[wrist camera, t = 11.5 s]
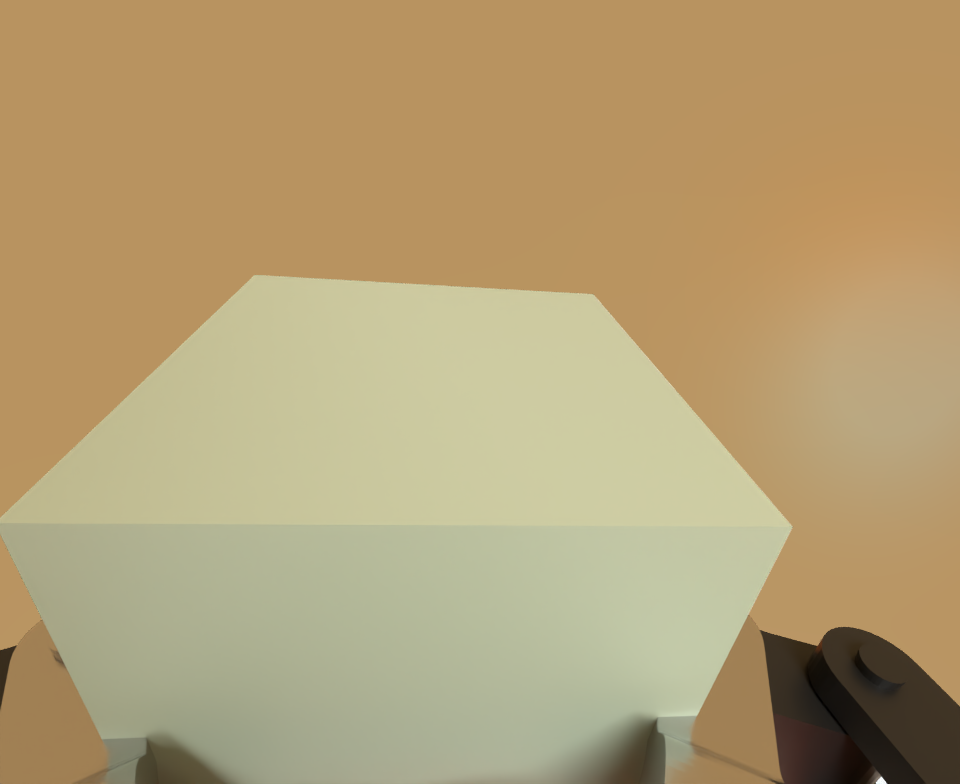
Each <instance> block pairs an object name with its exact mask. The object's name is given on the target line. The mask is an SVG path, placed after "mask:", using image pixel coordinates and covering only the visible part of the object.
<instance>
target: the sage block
mask: <svg viewBox="0 0 960 784" xmlns="http://www.w3.org/2000/svg"><path fill="white" fill-rule="evenodd" d="M792 528H793V527H792V525H791V524H790V523H789V522H788V521H787V520H786V518H785V517H784V516H783V515H782V514H781V513H780V512H779V510H778V509H777V508H776V507H775V506H774V504H773V503H772V502H771V501H770V500H769V499H768V498H767V496H766V495H765V494H764V493H763V492H762V490H761V489H760V488H759V487H758V486H757V485H756V483H755V482H754V481H753V480H752V479H751V478H750V476H749V475H748V474H747V473H746V472H745V471H744V469H743V468H742V467H741V466H740V465H739V464H738V462H736V460H735V459H734V458H733V457H732V455H731V454H730V453H729V452H728V451H727V450H726V448H725V447H724V446H723V445H722V444H721V443H720V441H718V439H717V438H716V437H715V436H714V434H712V432H711V431H710V430H709V429H708V427H707V426H706V425H705V424H704V423H703V422H702V420H701V419H700V418H699V417H698V416H697V415H696V414H695V413H694V411H693V410H692V409H691V408H690V406H689V405H688V404H687V403H686V402H685V401H684V399H683V398H682V397H681V396H680V395H679V394H678V392H677V391H676V390H675V389H674V388H673V387H672V386H671V384H669V382H668V381H667V380H666V378H665V377H664V376H663V375H662V374H661V373H660V371H659V370H657V368H656V367H655V366H654V365H653V363H652V362H651V361H650V360H649V359H648V357H647V356H646V355H645V354H644V353H643V352H642V350H641V349H640V348H639V347H638V346H637V345H636V343H635V342H634V341H633V340H632V339H631V338H630V337H629V335H628V334H627V333H626V332H625V331H624V329H623V328H622V327H621V326H620V325H619V324H618V322H617V321H616V320H615V319H614V318H613V317H612V315H611V314H610V313H609V312H608V311H607V310H606V308H605V307H604V306H603V305H602V304H601V303H600V301H599V300H598V299H597V298H596V297H595V296H594V295H593V294H577V293H560V292H543V291H525V290H507V289H489V288H473V287H455V286H437V285H420V284H403V283H386V282H367V281H351V280H333V279H331V280H330V279H316V278H314V279H313V278H298V277H280V276H263V275H254V276H253V277H252V278H251V279H250V280H249V281H248V282H247V283H246V284H245V285H244V286H243V287H242V288H241V289H240V290H239V291H238V292H237V293H236V294H234V295H233V296H232V297H231V298H230V299H229V300H228V301H227V302H226V303H225V304H224V305H223V306H222V307H221V308H220V309H219V310H218V311H217V312H216V313H215V314H213V315H212V317H210V318H209V319H208V320H207V321H206V322H205V323H204V324H203V325H202V326H201V327H200V328H199V329H198V330H197V331H196V332H195V333H194V334H192V335H191V336H190V337H189V338H188V339H187V340H186V341H185V342H184V343H183V344H182V345H181V346H180V347H179V348H178V349H177V350H176V351H175V352H174V353H173V354H172V355H171V356H169V357H168V358H167V359H166V360H165V361H164V362H163V363H162V364H161V365H160V366H159V367H158V368H157V369H156V370H155V371H154V372H153V373H152V374H151V375H150V376H148V377H147V378H146V379H145V380H144V381H143V382H142V383H141V384H140V385H139V386H138V387H137V388H136V389H135V390H134V391H133V392H132V393H131V394H130V395H129V396H128V397H126V399H125V400H123V401H122V402H121V403H120V404H119V405H118V406H117V407H116V408H115V409H114V410H113V411H112V412H111V413H110V414H109V415H108V416H107V417H105V419H104V420H103V421H101V422H100V423H99V424H98V425H97V426H96V427H95V428H94V429H93V430H92V431H91V432H90V433H89V434H88V435H87V436H86V437H85V438H84V439H82V440H81V441H80V442H79V443H78V444H77V445H76V446H75V447H74V448H73V449H72V450H71V451H70V452H69V453H68V454H67V455H66V456H65V457H64V458H62V459H61V461H60V462H58V463H57V464H56V465H55V466H54V467H53V468H52V469H51V470H50V471H49V472H48V473H47V474H46V475H45V476H44V477H43V478H42V479H40V481H38V482H37V483H36V484H35V485H34V486H33V487H32V488H31V489H30V490H29V491H28V492H27V493H26V494H25V495H24V496H23V497H22V498H21V499H20V500H19V501H17V502H16V503H15V504H14V505H13V506H12V507H11V508H10V509H9V510H8V511H7V512H6V513H5V514H4V515H3V516H2V517H1V518H0V535H1V537H2V539H3V541H4V543H5V545H6V547H7V549H8V551H9V553H10V555H11V557H12V559H13V561H14V563H15V565H16V567H17V569H18V571H19V573H20V575H21V577H22V579H23V581H24V583H25V585H26V588H27V589H28V592H29V594H30V596H31V598H32V600H33V602H34V604H35V606H36V607H37V610H38V612H39V614H40V616H41V618H42V620H43V622H44V624H45V626H46V628H47V630H48V632H49V634H50V636H51V638H52V640H53V642H54V644H55V646H56V648H57V650H58V652H59V654H60V656H61V658H62V660H63V662H64V664H65V666H66V668H67V670H68V672H69V674H70V676H71V678H72V680H73V682H74V684H75V686H76V688H77V690H78V692H79V694H80V696H81V698H82V700H83V702H84V704H85V706H86V708H87V710H88V712H89V714H90V716H91V718H92V721H93V723H94V725H95V727H96V729H97V731H98V733H99V735H100V737H101V739H118V738H143V737H147V740H148V742H149V745H150V747H151V749H152V752H153V754H154V757H155V759H156V761H157V772H158V781H159V784H638V782H639V780H640V777H641V773H642V769H643V765H644V760H645V754H646V747H647V740H648V737H649V735H650V733H651V731H652V728H653V726H654V724H655V722H656V719H657V717H675V716H697V715H698V713H699V711H700V709H701V707H702V705H703V703H704V701H705V699H706V697H707V695H708V693H709V691H710V689H711V687H712V685H713V683H714V681H715V680H716V678H717V676H718V674H719V672H720V670H721V668H722V666H723V664H724V662H725V660H726V658H727V656H728V654H729V652H730V650H731V648H732V646H733V644H734V642H735V640H736V638H737V636H738V634H739V632H740V630H741V628H742V626H743V624H744V622H745V620H746V618H747V616H748V614H749V612H750V610H751V608H752V606H753V605H754V602H755V601H756V598H757V597H758V595H759V593H760V591H761V589H762V587H763V585H764V583H765V581H766V579H767V577H768V575H769V573H770V571H771V569H772V567H773V565H774V563H775V561H776V559H777V557H778V555H779V553H780V551H781V549H782V547H783V545H784V543H785V541H786V539H787V537H788V535H789V533H790V531H791V530H792Z"/></svg>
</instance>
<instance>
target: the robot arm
mask: <svg viewBox="0 0 960 784" xmlns="http://www.w3.org/2000/svg"><path fill="white" fill-rule="evenodd" d="M881 776H882V778H883V779H884V780H885V781H886V783H887V784H960V706H959V705H958V704H957V703H956V702H955V701H953V699H952V698H951V697H950V696H949V695H948V694H947V693H946V692H945V691H944V690H942V689H941V687H940V686H939V685H937V684H936V682H935V681H934V680H933V679H931V678H930V676H929V675H927V673H926V672H925V671H924V670H922V668H921V667H919V666H918V665H917V664H916V663H915V662H914V661H913V660H912V659H911V658H910V657H909V656H908V655H906V654H905V653H904V652H903V651H901V650H900V649H899V648H897V647H895V646H894V645H893V644H891V643H890V642H888V641H886V640H884V639H883V638H880V637H879V636H876V635H874V634H872V633H870V632H867V631H864V630H860V629H856V628H850V627H838V628H834V629H831V630H830V631H828V632H827V633H826V634H825V635H824V637H823V639H822V640H821V642H820V643H819V645H818V646H815V645H811V644H807V643H803V642H800V641H796V640H792V639H789V638H785V637H781V636H778V635H774V634H770V633H767V632H764V631H761V630H759V628H758V627H757V625H756V623H755V622H754V621H753V619H752V618H751V617H750V616H749V615H748V616H747V618H746V620H745V622H744V624H743V626H742V628H741V630H740V632H739V634H738V636H737V638H736V640H735V642H734V644H733V646H732V648H731V650H730V652H729V654H728V656H727V658H726V660H725V662H724V664H723V666H722V668H721V670H720V672H719V674H718V676H717V678H716V680H715V681H714V683H713V685H712V687H711V689H710V691H709V693H708V695H707V697H706V699H705V701H704V703H703V705H702V707H701V709H700V711H699V713H698V715H697V716H675V717H657V719H656V722H655V724H654V726H653V728H652V731H651V733H650V735H649V737H648V740H647V747H646V754H645V760H644V765H643V769H642V773H641V777H640V780H639V782H638V784H876V782H877V780H878V779H879V778H880V777H881ZM0 784H159V781H158V772H157V761H156V759H155V757H154V754H153V752H152V749H151V747H150V745H149V742H148V740H147V737H143V738H118V739H101V737H100V735H99V733H98V731H97V729H96V727H95V725H94V723H93V721H92V718H91V716H90V714H89V712H88V710H87V708H86V706H85V704H84V702H83V700H82V698H81V696H80V694H79V692H78V690H77V688H76V686H75V684H74V682H73V680H72V678H71V676H70V674H69V672H68V670H67V668H66V666H65V664H64V662H63V660H62V658H61V656H60V654H59V652H58V650H57V648H56V646H55V644H54V642H53V640H52V638H51V636H50V634H49V632H48V630H47V628H46V626H45V624H44V622H43V620H41V621H40V622H39V623H37V624H36V625H35V626H34V627H33V628H31V630H30V631H29V632H28V633H27V634H26V635H25V636H24V637H23V639H22V640H21V641H20V642H19V644H18V645H17V646H14V647H11V648H7V649H4V650H0Z"/></svg>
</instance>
